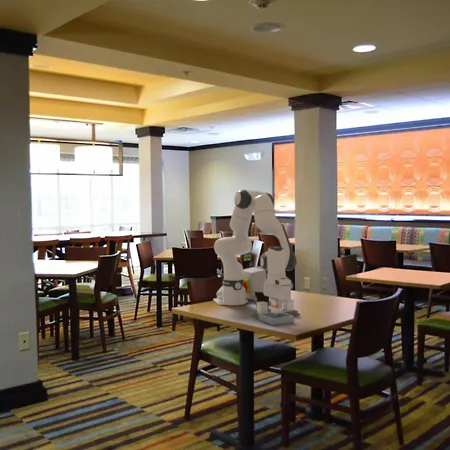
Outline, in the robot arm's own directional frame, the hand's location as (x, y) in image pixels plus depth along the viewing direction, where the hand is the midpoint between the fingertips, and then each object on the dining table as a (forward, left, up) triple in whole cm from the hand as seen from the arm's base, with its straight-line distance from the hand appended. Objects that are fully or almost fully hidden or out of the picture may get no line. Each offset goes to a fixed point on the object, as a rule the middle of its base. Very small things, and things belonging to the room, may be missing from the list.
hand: (276, 307), depth 261 cm
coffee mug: (-32, +11, -7) cm, 35 cm away
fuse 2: (-12, +15, -6) cm, 20 cm away
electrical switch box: (-58, +18, -7) cm, 61 cm away
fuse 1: (-12, -1, -6) cm, 14 cm away
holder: (-12, +7, -7) cm, 16 cm away
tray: (0, 0, -7) cm, 7 cm away
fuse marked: (0, 0, -3) cm, 3 cm away
